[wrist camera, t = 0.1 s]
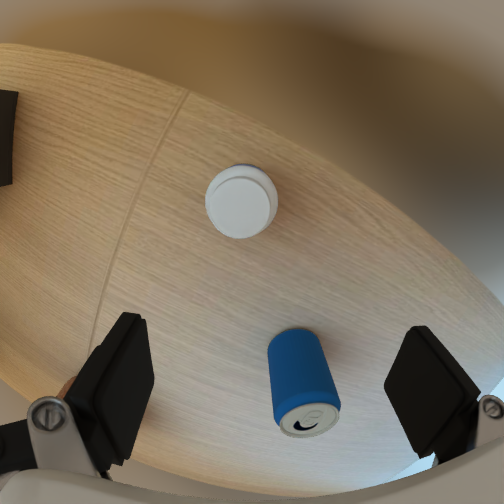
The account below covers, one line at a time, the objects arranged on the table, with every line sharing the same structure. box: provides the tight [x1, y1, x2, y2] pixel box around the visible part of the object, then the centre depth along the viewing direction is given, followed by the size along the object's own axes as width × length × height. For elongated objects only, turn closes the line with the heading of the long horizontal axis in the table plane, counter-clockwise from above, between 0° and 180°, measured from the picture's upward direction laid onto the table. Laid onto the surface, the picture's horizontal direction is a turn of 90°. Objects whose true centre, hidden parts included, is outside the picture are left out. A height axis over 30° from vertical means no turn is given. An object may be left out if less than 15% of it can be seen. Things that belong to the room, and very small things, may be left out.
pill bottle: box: [205, 164, 278, 239], centre depth 22 cm, size 5×5×10 cm
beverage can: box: [268, 329, 341, 438], centre depth 27 cm, size 6×6×12 cm
